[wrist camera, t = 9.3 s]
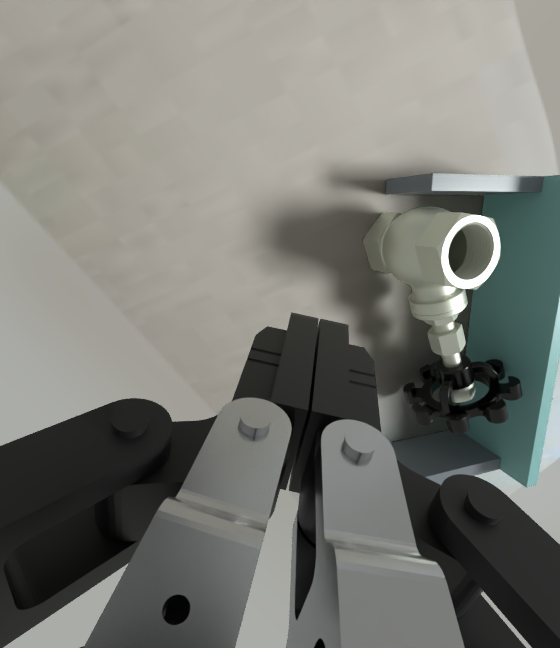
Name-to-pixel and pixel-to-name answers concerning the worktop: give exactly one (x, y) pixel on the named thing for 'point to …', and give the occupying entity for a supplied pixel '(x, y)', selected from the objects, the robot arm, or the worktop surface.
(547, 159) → the worktop surface
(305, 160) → the worktop surface
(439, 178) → the walled bay
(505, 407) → the valve
